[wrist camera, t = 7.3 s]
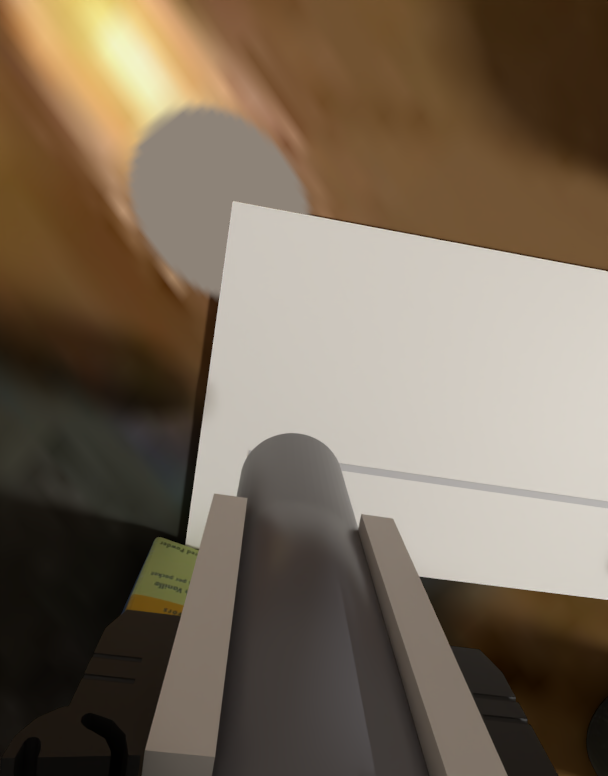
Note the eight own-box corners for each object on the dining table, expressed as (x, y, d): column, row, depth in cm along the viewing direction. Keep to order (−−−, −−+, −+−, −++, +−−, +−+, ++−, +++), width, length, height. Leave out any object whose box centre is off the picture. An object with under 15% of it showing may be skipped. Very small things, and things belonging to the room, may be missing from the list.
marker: (233, 507, 18) (52, 1482, 4) (247, 412, 18) (89, 1158, 3) (331, 520, 19) (523, 1471, 4) (349, 426, 18) (666, 1180, 3)
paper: (186, 543, 23) (184, 547, 23) (233, 201, 20) (232, 200, 20) (622, 598, 25) (627, 602, 25) (726, 294, 22) (733, 294, 21)
